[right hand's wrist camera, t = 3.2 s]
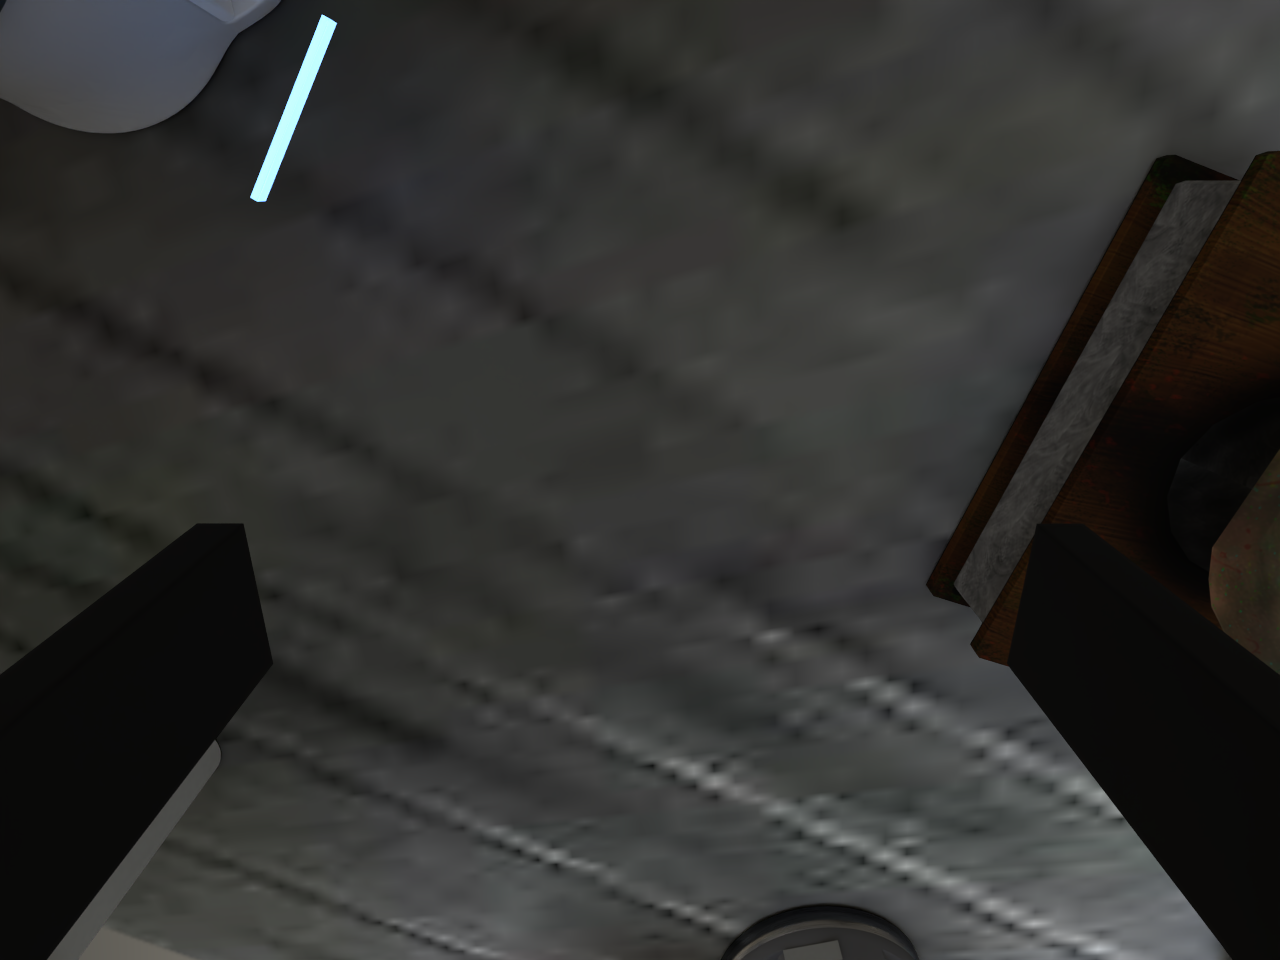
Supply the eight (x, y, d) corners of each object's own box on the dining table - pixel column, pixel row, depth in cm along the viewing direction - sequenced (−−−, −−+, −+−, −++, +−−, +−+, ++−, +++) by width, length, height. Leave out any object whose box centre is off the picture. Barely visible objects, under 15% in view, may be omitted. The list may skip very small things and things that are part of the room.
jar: (146, 763, 49) (-76, 1023, 34) (158, 712, 48) (-67, 961, 33) (213, 784, 50) (26, 1048, 35) (228, 735, 49) (39, 988, 33)
